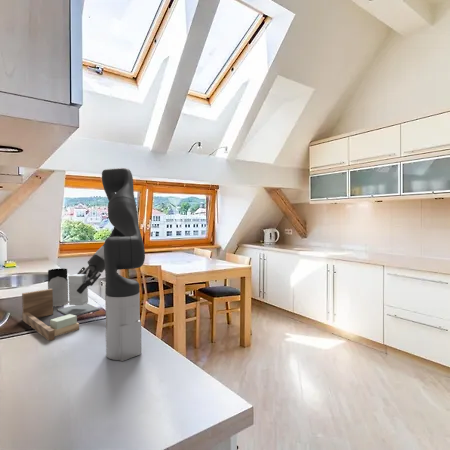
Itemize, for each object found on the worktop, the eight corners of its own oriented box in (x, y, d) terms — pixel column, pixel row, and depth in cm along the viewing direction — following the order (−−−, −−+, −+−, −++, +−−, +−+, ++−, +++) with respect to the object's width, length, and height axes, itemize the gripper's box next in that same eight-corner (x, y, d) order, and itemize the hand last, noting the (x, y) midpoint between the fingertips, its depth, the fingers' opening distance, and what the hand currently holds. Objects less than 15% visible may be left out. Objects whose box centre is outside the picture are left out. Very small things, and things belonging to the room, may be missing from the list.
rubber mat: (99, 310, 130) (99, 308, 130) (69, 317, 121) (69, 315, 121) (86, 304, 138) (86, 303, 138) (57, 310, 129) (57, 309, 129)
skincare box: (88, 302, 131) (87, 274, 131) (82, 305, 127) (82, 276, 127) (74, 302, 132) (74, 273, 132) (68, 305, 128) (67, 275, 127)
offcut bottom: (79, 330, 108) (79, 323, 108) (54, 337, 102) (54, 330, 102) (72, 327, 112) (72, 320, 112) (48, 334, 105) (48, 326, 105)
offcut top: (76, 323, 109) (76, 315, 109) (57, 329, 103) (56, 321, 103) (70, 321, 111) (70, 314, 111) (50, 327, 105) (50, 319, 105)
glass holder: (46, 307, 133) (45, 272, 133) (47, 299, 146) (47, 267, 145) (69, 304, 137) (69, 270, 137) (68, 297, 150) (68, 265, 149)
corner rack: (82, 331, 106) (81, 302, 106) (49, 340, 98) (48, 309, 98) (51, 313, 125) (51, 288, 125) (21, 319, 118) (21, 293, 117)
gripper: (88, 252, 139) (60, 282, 131) (103, 255, 129) (75, 288, 121) (100, 262, 143) (74, 293, 135) (115, 266, 134) (89, 299, 125)
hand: (74, 290), depth 128 cm, fingers closed on skincare box, 7 cm apart
